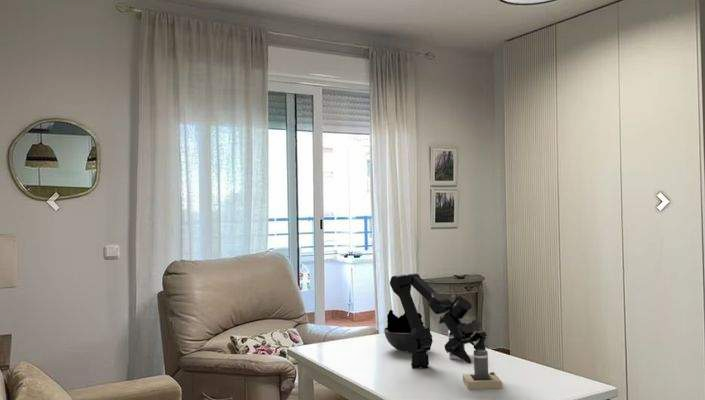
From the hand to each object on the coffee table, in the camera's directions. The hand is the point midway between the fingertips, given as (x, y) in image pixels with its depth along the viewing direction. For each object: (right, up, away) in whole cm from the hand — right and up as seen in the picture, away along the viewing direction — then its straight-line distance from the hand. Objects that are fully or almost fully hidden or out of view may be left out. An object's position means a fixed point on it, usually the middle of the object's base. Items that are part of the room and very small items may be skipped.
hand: (478, 360), depth 204 cm
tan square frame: (+1, -8, -1) cm, 8 cm away
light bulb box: (-1, -9, +39) cm, 40 cm away
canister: (+1, -8, -1) cm, 8 cm away
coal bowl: (-22, -10, +51) cm, 56 cm away
